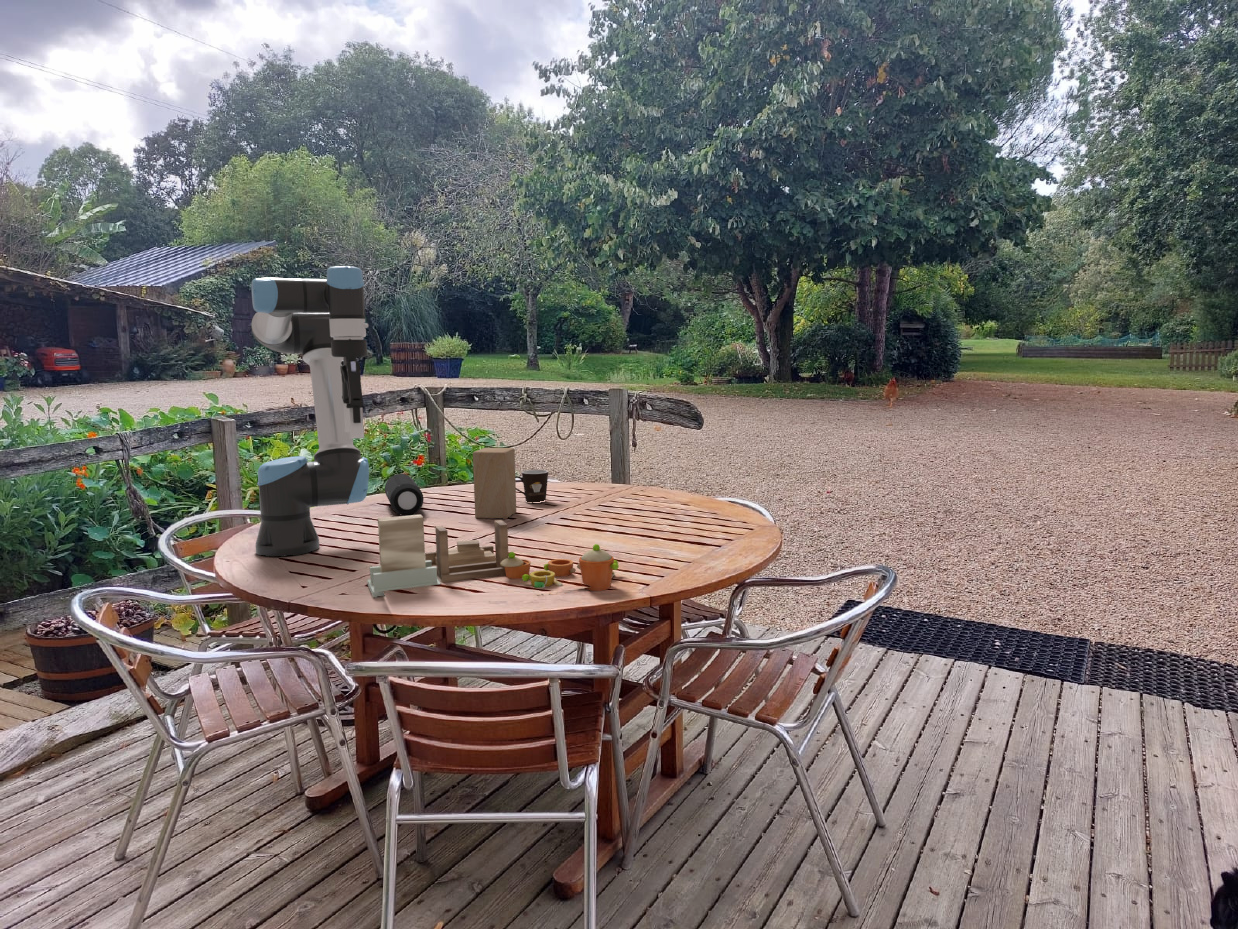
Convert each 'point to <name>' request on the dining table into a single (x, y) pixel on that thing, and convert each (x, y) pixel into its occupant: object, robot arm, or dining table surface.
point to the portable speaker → (404, 494)
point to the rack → (469, 556)
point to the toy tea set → (566, 570)
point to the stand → (401, 578)
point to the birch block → (401, 543)
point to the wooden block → (494, 482)
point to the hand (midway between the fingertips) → (354, 435)
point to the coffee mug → (534, 485)
